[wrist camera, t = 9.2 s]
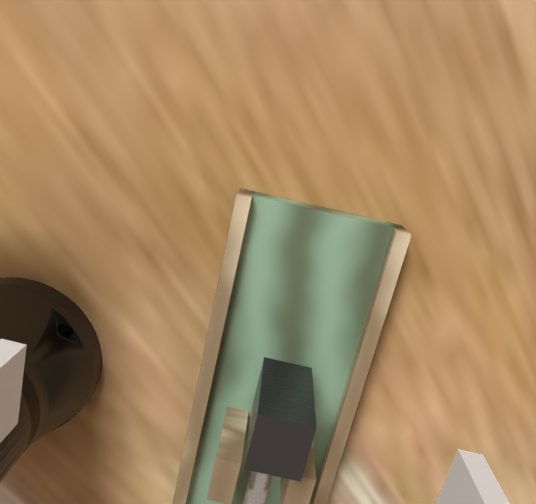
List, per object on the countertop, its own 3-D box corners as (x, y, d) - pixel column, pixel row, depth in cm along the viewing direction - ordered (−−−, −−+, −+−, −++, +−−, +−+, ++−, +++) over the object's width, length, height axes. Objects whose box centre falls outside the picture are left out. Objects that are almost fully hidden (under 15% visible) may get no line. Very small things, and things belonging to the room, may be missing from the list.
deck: (156, 591, 54) (130, 682, 46) (240, 188, 42) (227, 208, 33) (280, 618, 55) (278, 714, 46) (402, 225, 42) (430, 255, 33)
